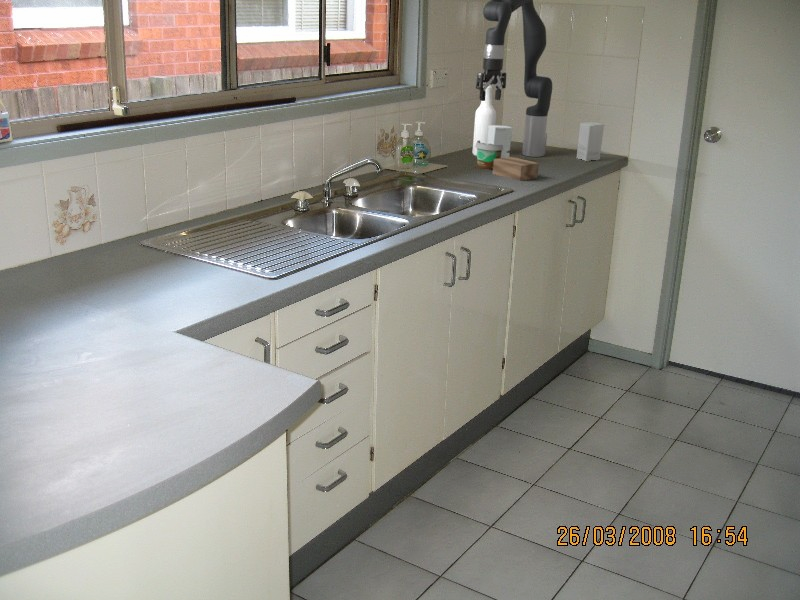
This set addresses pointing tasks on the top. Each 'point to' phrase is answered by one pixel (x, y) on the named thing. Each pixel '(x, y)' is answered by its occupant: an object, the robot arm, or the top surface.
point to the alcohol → (484, 119)
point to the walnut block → (515, 168)
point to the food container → (487, 154)
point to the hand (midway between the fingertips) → (489, 100)
